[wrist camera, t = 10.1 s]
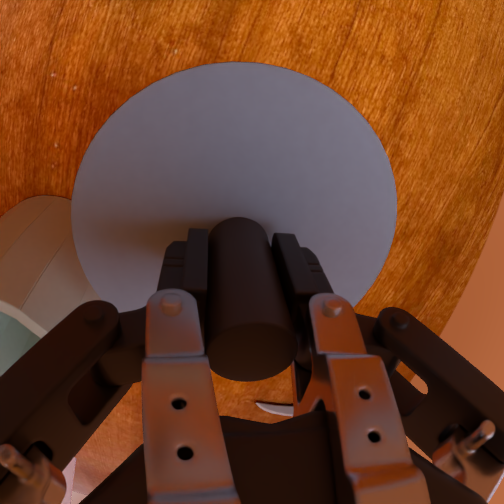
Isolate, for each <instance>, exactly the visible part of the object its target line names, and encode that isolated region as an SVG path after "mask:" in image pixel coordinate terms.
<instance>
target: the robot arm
mask: <svg viewBox="0 0 504 504" xmlns="http://www.w3.org/2000/svg"><path fill="white" fill-rule="evenodd" d="M208 232H209V229H201V228H189V230H188V236H187V241H173V242H172V243H171V244H170V245H169V246H168V247H167V248H166V250H165V255H164V259H163V263H162V268H161V272H160V277H159V281H158V286H157V291H156V292H155V293H154V294H152V295H151V296H150V297H149V299H148V301H147V305H146V306H144V307H142V308H140V309H137V310H132V311H127V312H121V313H119V312H118V310H117V308H116V307H115V306H114V305H113V304H111V303H110V302H107V301H103V300H93V301H88V302H85V303H83V304H81V305H80V306H78V307H77V308H76V309H75V310H73V311H72V312H71V313H70V314H69V315H68V316H66V317H65V318H64V319H63V320H62V321H61V322H59V323H58V324H57V325H56V326H55V327H54V328H53V329H51V330H50V331H49V332H48V333H47V334H46V335H45V336H44V337H42V338H41V339H40V340H39V341H38V342H37V343H36V344H35V345H34V346H32V347H31V348H30V349H29V350H28V351H27V352H26V353H25V354H24V355H23V356H22V357H20V358H19V359H18V360H17V361H16V362H15V363H14V364H13V365H12V366H11V367H10V368H9V369H8V370H7V371H6V372H5V373H4V374H2V375H1V376H0V504H61V502H62V500H63V499H64V497H65V494H66V489H67V485H66V480H65V477H64V475H63V473H62V471H63V470H64V469H65V468H66V466H67V465H68V464H69V463H70V461H71V460H72V459H73V458H74V457H75V455H76V454H77V453H78V452H79V450H80V449H81V448H82V447H83V445H84V444H85V443H86V442H87V440H88V439H89V438H90V437H91V435H92V434H93V433H94V432H95V431H96V429H97V428H98V427H99V426H100V424H101V423H102V422H103V421H104V419H105V418H106V417H107V416H108V415H109V413H110V412H111V411H112V410H113V408H114V407H115V406H116V405H117V403H118V402H119V401H120V400H121V399H122V397H123V396H124V395H125V394H126V392H127V391H128V390H129V389H130V387H131V386H132V384H133V383H135V382H140V381H142V423H143V444H141V445H140V446H139V447H138V448H137V449H136V450H135V451H134V452H133V453H132V454H131V455H130V456H129V457H128V458H127V459H126V460H125V461H124V462H123V463H122V464H121V465H120V466H119V467H118V468H116V469H115V470H114V471H113V472H112V473H111V474H110V475H109V476H108V477H107V478H106V479H105V480H104V481H103V482H102V483H101V484H100V485H98V486H97V487H96V488H95V489H94V490H93V491H92V492H91V493H90V494H89V495H88V496H87V497H85V498H84V499H83V500H82V501H81V502H80V503H79V504H488V502H489V500H490V499H491V497H492V496H493V494H494V492H495V490H496V489H497V487H498V485H499V483H500V482H501V480H502V478H503V476H504V392H503V391H502V390H501V389H500V388H499V387H498V386H497V385H495V384H494V383H493V382H492V381H491V380H490V379H489V378H487V377H486V376H485V375H484V374H483V373H482V372H480V371H479V370H478V369H477V368H476V367H474V366H473V365H472V364H471V363H470V362H469V361H467V360H466V359H465V358H464V357H463V356H461V355H460V354H459V353H458V352H457V351H455V350H454V349H453V348H452V347H451V346H449V345H448V344H447V343H446V342H444V341H443V340H442V339H441V338H440V337H438V336H437V335H436V334H435V333H433V332H432V331H431V330H430V329H428V328H427V327H426V326H425V325H423V324H422V323H421V322H420V321H418V320H417V319H416V318H415V317H413V316H412V315H411V314H410V313H408V312H406V311H405V310H402V309H400V308H395V307H388V308H385V309H383V310H381V312H380V314H379V316H378V318H374V317H369V316H364V315H360V314H357V313H355V312H354V309H353V307H352V305H351V304H350V303H349V302H348V301H347V300H346V299H344V298H343V297H341V296H339V295H336V294H334V292H333V289H332V287H331V285H330V283H329V281H328V279H327V277H326V275H325V273H324V272H323V271H324V270H323V268H322V266H321V265H320V262H319V260H318V258H317V256H316V255H315V254H314V253H313V252H312V251H311V250H310V249H308V248H307V247H300V245H299V243H298V241H297V238H296V236H295V234H291V233H274V234H273V237H272V243H271V250H272V253H273V257H274V260H275V263H276V267H277V270H278V274H279V277H280V281H281V284H282V288H283V291H284V295H285V298H286V302H287V305H288V309H289V313H290V316H291V320H292V323H293V327H294V330H295V334H296V338H297V341H298V352H297V355H296V358H295V359H294V361H293V362H292V364H291V365H290V366H291V379H292V392H293V406H294V412H293V418H290V419H287V420H284V421H281V422H277V423H273V424H268V423H261V422H256V421H250V420H245V419H240V418H235V417H230V416H219V413H218V408H217V403H216V398H215V392H214V387H213V382H212V376H211V371H210V365H209V360H208V357H207V355H205V354H204V348H203V347H204V321H205V316H206V307H207V269H208ZM401 361H402V362H403V363H404V364H405V365H406V366H408V367H409V368H410V369H411V370H412V371H413V372H414V373H416V374H417V375H418V376H419V377H420V378H421V379H422V380H423V381H424V382H425V383H426V384H427V387H428V393H427V394H423V393H421V392H420V391H418V390H417V389H416V388H415V387H414V386H413V385H412V384H411V383H410V382H408V381H407V380H406V379H405V378H404V377H403V376H402V375H401V374H400V373H399V372H397V371H396V370H395V369H396V368H397V366H398V365H399V363H400V362H401ZM405 435H406V436H407V437H408V438H409V439H410V440H412V442H414V443H415V444H416V445H417V446H418V447H419V448H420V449H421V450H422V451H423V452H424V453H425V454H426V455H427V456H428V457H429V458H431V460H432V462H433V464H432V463H431V462H429V461H428V460H426V459H425V458H424V457H422V456H421V455H419V454H418V453H416V452H415V451H414V450H412V449H411V448H409V447H408V444H407V440H406V436H405Z"/></svg>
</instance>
